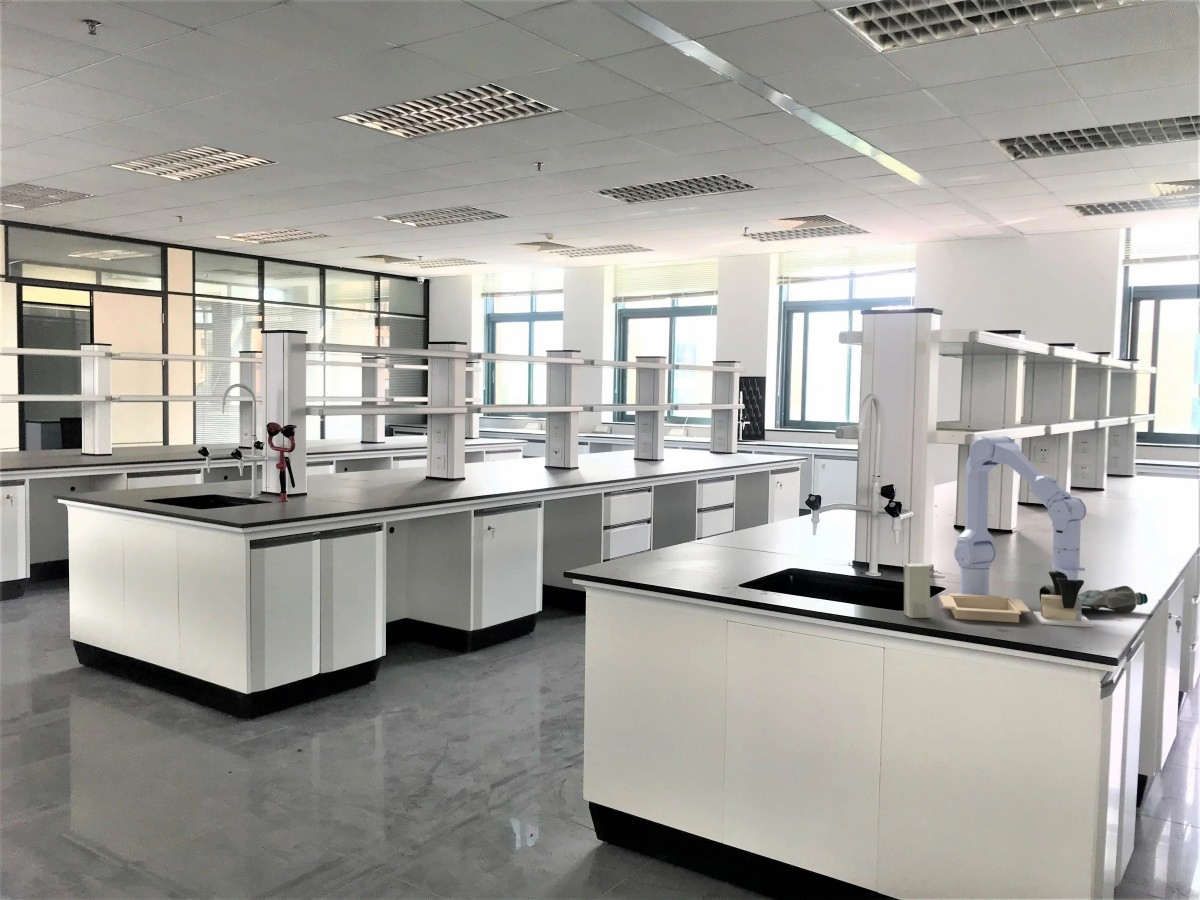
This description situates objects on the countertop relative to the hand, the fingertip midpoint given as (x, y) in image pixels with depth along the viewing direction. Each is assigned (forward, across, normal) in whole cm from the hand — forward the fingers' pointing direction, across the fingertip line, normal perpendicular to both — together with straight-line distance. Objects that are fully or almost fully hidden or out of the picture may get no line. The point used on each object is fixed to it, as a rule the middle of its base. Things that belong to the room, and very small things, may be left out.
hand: (1065, 604), depth 213 cm
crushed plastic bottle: (+4, +12, -9) cm, 15 cm away
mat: (+4, 0, 0) cm, 4 cm away
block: (+3, 0, +1) cm, 3 cm away
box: (+4, -5, +34) cm, 35 cm away
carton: (+4, +2, +18) cm, 19 cm away
